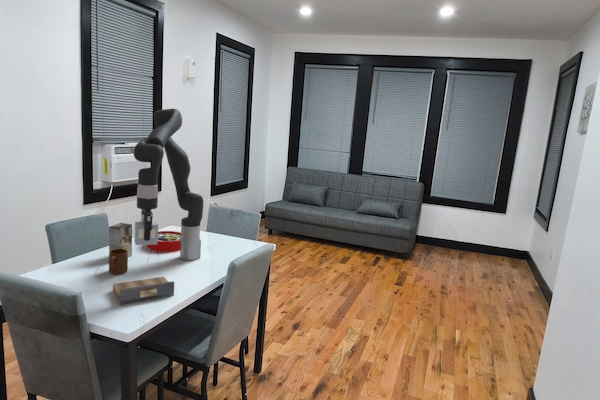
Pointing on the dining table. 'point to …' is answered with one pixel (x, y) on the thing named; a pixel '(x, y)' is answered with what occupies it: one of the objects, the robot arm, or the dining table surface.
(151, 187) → the robot arm
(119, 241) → the coffee box
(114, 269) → the mug
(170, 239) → the toy clock
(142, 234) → the carton
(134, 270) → the dining table surface
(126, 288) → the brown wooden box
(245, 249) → the dining table surface
